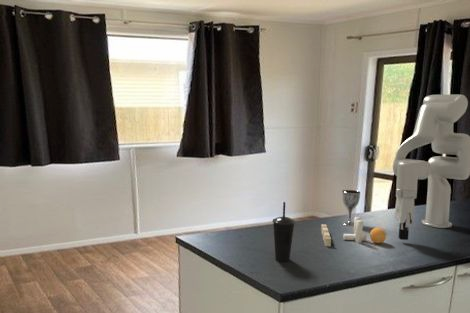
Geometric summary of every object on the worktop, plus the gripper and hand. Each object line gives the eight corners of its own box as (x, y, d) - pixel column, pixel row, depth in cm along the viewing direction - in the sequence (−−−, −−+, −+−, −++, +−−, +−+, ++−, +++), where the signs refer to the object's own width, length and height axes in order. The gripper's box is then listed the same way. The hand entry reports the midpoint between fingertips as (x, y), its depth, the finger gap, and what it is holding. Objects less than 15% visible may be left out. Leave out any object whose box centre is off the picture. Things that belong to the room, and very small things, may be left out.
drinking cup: (296, 257, 146) (298, 201, 143) (289, 264, 139) (291, 205, 136) (275, 254, 149) (277, 199, 146) (268, 260, 142) (269, 203, 140)
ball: (375, 222, 164) (386, 229, 166) (364, 231, 166) (375, 238, 168) (380, 231, 159) (391, 239, 161) (369, 241, 161) (380, 248, 163)
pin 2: (354, 241, 166) (355, 220, 165) (361, 241, 165) (362, 220, 164) (355, 242, 163) (356, 221, 162) (362, 243, 163) (363, 222, 162)
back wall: (321, 231, 178) (321, 224, 178) (325, 231, 178) (326, 224, 178) (325, 246, 158) (325, 238, 158) (330, 246, 158) (331, 238, 158)
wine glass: (344, 220, 197) (345, 189, 195) (361, 223, 192) (362, 191, 191) (337, 223, 190) (339, 191, 189) (354, 227, 186) (356, 193, 184)
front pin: (364, 239, 168) (343, 238, 169) (365, 234, 167) (343, 232, 168) (366, 241, 165) (344, 240, 166) (366, 235, 165) (344, 234, 166)
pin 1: (352, 237, 171) (354, 216, 170) (359, 237, 170) (360, 217, 169) (353, 239, 168) (354, 218, 167) (360, 239, 168) (361, 218, 167)
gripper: (391, 189, 170) (388, 233, 172) (401, 196, 156) (398, 244, 158) (410, 190, 169) (407, 234, 171) (422, 197, 155) (419, 245, 157)
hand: (403, 238), depth 164 cm, fingers closed
